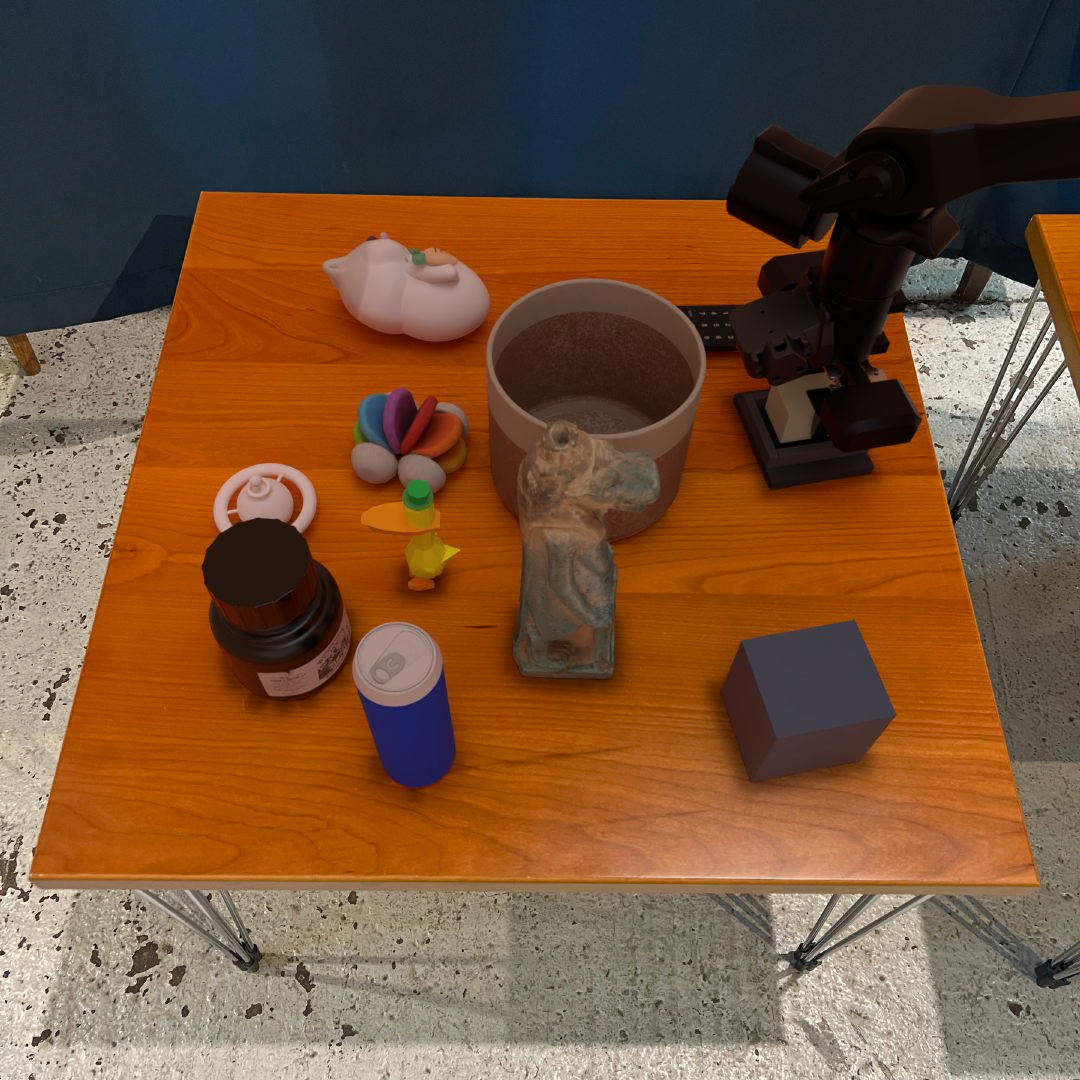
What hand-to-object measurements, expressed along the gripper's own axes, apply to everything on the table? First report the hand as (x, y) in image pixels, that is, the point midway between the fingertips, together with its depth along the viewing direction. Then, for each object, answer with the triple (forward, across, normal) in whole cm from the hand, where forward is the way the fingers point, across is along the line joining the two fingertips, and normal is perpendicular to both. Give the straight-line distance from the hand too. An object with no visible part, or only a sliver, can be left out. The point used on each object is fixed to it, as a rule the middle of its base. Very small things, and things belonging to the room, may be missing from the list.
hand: (807, 417), depth 82 cm
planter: (+3, 0, -19) cm, 19 cm away
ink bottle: (+3, +12, -44) cm, 46 cm away
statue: (+3, +16, -24) cm, 29 cm away
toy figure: (+3, +8, -34) cm, 35 cm away
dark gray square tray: (+2, 0, 0) cm, 2 cm away
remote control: (+3, -14, -10) cm, 17 cm away
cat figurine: (+3, -20, -31) cm, 37 cm away
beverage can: (+3, +22, -36) cm, 42 cm away
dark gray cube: (+2, +25, -10) cm, 27 cm away
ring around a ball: (+3, 0, -45) cm, 45 cm away
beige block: (0, 0, 0) cm, 0 cm away
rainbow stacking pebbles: (+3, -4, -33) cm, 33 cm away
